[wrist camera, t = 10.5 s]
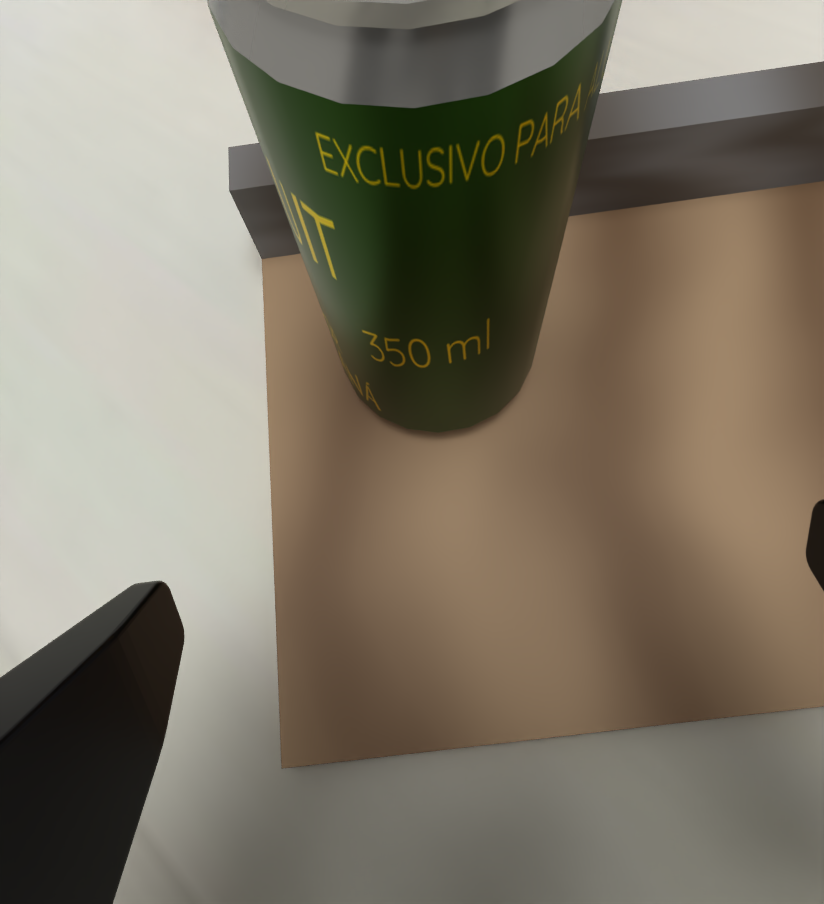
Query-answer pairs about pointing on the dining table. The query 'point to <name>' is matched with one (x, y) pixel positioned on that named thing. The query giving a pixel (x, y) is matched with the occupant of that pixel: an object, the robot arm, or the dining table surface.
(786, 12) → the dining table surface
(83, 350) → the dining table surface
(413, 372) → the beer can
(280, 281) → the shelf board
